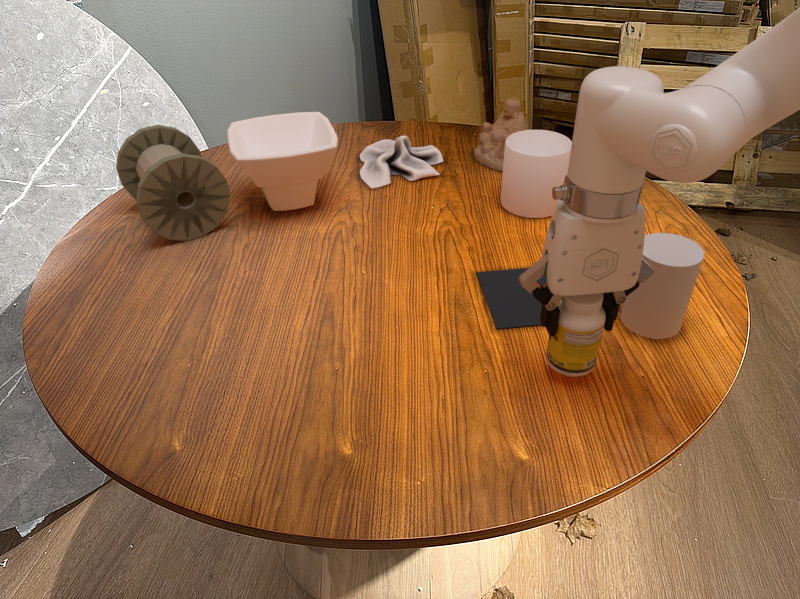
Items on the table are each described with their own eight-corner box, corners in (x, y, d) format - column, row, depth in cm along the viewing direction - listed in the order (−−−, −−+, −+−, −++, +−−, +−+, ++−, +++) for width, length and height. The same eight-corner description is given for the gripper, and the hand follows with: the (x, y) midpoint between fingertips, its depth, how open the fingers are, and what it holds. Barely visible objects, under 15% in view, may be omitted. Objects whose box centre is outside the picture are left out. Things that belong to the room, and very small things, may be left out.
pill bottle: (547, 342, 82) (557, 274, 75) (595, 349, 80) (610, 280, 74) (543, 374, 77) (554, 304, 70) (594, 382, 76) (610, 312, 69)
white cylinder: (522, 182, 122) (528, 124, 115) (575, 200, 116) (585, 139, 109) (488, 205, 115) (492, 144, 108) (542, 225, 109) (550, 162, 102)
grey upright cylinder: (693, 324, 87) (717, 252, 79) (655, 346, 83) (677, 274, 76) (645, 296, 92) (664, 226, 85) (608, 316, 89) (624, 245, 81)
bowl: (330, 174, 127) (323, 108, 119) (349, 219, 112) (343, 147, 104) (238, 187, 123) (224, 120, 115) (246, 236, 109) (231, 162, 100)
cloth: (367, 142, 140) (365, 115, 136) (448, 146, 137) (449, 119, 133) (342, 187, 123) (340, 158, 119) (435, 193, 120) (435, 163, 116)
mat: (562, 265, 99) (562, 264, 99) (593, 320, 88) (593, 319, 88) (476, 273, 98) (476, 272, 98) (496, 329, 87) (496, 328, 87)
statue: (556, 110, 124) (520, 104, 119) (533, 176, 131) (498, 174, 125) (518, 93, 133) (483, 87, 127) (498, 156, 139) (464, 153, 134)
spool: (130, 211, 117) (105, 136, 108) (207, 190, 123) (190, 117, 114) (152, 251, 105) (127, 170, 96) (236, 225, 112) (219, 147, 102)
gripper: (530, 218, 61) (515, 354, 71) (699, 204, 62) (658, 339, 73) (511, 184, 67) (499, 314, 77) (665, 171, 68) (632, 301, 79)
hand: (576, 325), depth 75 cm, fingers closed on pill bottle, 6 cm apart
